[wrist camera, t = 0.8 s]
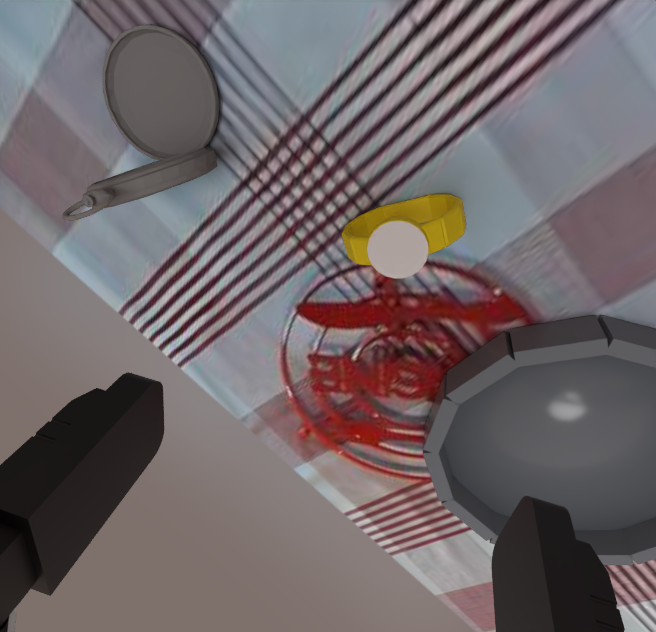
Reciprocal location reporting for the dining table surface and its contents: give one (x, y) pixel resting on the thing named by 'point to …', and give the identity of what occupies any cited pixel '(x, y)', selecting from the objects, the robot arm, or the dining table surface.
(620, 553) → the round dish
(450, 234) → the watch
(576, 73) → the dining table surface
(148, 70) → the pocket watch
